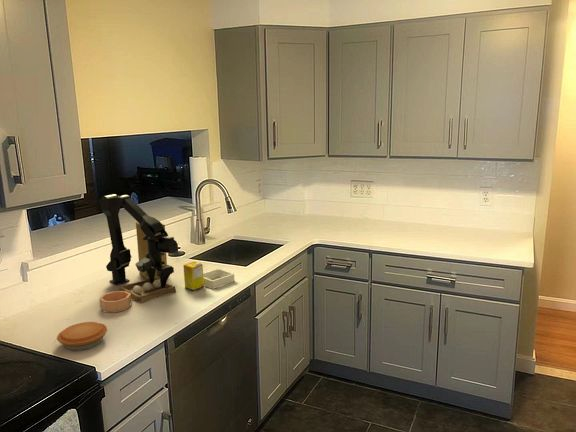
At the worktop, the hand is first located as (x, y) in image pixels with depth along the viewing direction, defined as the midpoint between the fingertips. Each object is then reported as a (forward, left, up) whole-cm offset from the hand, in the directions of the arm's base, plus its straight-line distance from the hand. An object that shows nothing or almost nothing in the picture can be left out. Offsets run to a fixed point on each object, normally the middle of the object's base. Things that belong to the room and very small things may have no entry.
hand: (157, 285), depth 205 cm
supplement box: (+11, +11, -2) cm, 16 cm away
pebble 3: (0, 0, +1) cm, 1 cm away
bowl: (+4, -21, -2) cm, 22 cm away
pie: (+24, -43, -2) cm, 49 cm away
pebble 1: (0, -10, +1) cm, 10 cm away
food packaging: (-17, +8, -2) cm, 19 cm away
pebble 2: (0, -5, +1) cm, 5 cm away
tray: (0, -5, -2) cm, 5 cm away
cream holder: (+12, +22, -2) cm, 25 cm away
